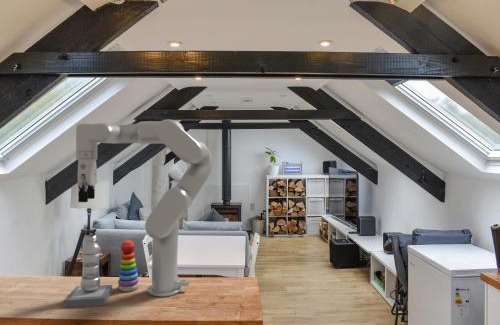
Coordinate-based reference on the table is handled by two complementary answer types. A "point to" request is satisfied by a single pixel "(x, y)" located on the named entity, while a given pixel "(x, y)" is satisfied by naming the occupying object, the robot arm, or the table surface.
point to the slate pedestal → (88, 297)
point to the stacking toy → (128, 268)
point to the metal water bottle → (90, 264)
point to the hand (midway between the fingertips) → (86, 200)
